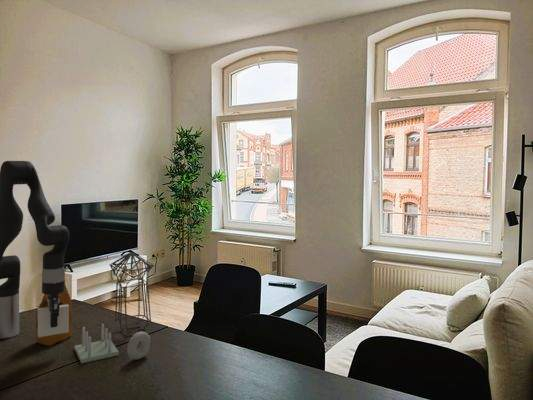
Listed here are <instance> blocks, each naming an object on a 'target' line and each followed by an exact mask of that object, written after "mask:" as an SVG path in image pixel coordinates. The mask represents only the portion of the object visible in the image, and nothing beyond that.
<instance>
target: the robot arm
mask: <svg viewBox="0 0 533 400" xmlns="http://www.w3.org/2000/svg"><path fill="white" fill-rule="evenodd" d="M15 185H27V186H28V188H29V190H30V191H29V192H30V193H29V196H28V200H27V211H28V213H29V215H30V217H31V219H32V220H33V223H34V226H35V230H36V231H35V232H36V239H37V242H38V243H39V245H40V244H41V245H42V246H43V247H45V246H46V247H49V246H53V247H52V249H51V250H49V251H47V252H44V253H43V255H42V272H41V293H42V294H43V295H44V294H46V295H49V296H48V297H47V302H48V307H49V311H50V318H51V328H53V327H57V317H58V316H59V306H60V304H59V303H60V298H59V296H58V294H59V293H62V292H64V291H65V285H66V271H65V256H66V255H65V254H66V252H67V248H68V246H69V245H68V244H69V241H70V230H69V229H68V227H67V226H65V225H61V224H60V225H59V224H58V225H52V224H53V223H54V222H55V220H56V216H55V213H54V212H53V210H52V208H51V207H50V204H49V203H48V200H47V199H46V197H45V196H46V195H45V193H44V191H43V187H42V184H41V181H40V178H39V175H38V171H37V169H36V168H35V166H34V164H33V163H32V162H31V161H28V160H27V161H26V160H5V161H3V162H2V164H1V165H0V280H3V279H4V280H5V279H6V280H5V281H4V282H3V283H1V284H0V339H1V340H2V339H8V338H13V337H15V336H17V335H19V334H20V287H21V280H20V279H21V260H20V258H19V257H18V255H4V253H5V252H6V251H7V248H8V246H11V244H12V243H13V242H14V240H15V239H16V238H17V237H18V236H19V235H20V233H21V232H22V229H23V228H22V227H23V222H24V212H23V211H22V208H21V207H20V205H19V204H18V202H17V200H16V198H15V197H14V186H15ZM53 313H55V314H53Z"/></svg>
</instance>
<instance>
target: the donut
mask: <svg viewBox="0 0 533 400" xmlns="http://www.w3.org/2000/svg"><path fill="white" fill-rule="evenodd" d="M133 334H134V335H132V336H130V337H131V338H130V339H129V340H128V343H127V347H126V351H127V356H128V357H129V358H131V360H136V361H137V360H141V359H143V358H144V357H145V356H146V355H147V353H148V352H149V349H150V346H151V337H150V334H149V333H147V332H146V331H145V332H144V331H143V330H142V331H138V332H135V333H133ZM139 343H140V346H139V348H138V345H139Z"/></svg>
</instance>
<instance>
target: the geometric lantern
mask: <svg viewBox="0 0 533 400" xmlns="http://www.w3.org/2000/svg"><path fill="white" fill-rule="evenodd" d="M129 259H130V262H129ZM136 259H137V260H136ZM128 262H129V263H128ZM140 262H142V263H143V265H144V267H143V268H139V263H140ZM133 264H135V265H133ZM127 265H130V268H127V267H126V266H127ZM109 266H110V269H111V271H112V272H113V275H114V276H115V278H116V279H117V281H116V283H115V285H116V286H115V287H116V289H115V311H114V312H115V313H114V315H115V316H114V322H115V325H117V327H118V328H119V329H120V332H121V333H122V334H124V335H125V336H126V337H132V336H133V335H134V334H135V333H133V334H131V332H134V331H138V330H142V332H146V327H148V325H150V324H151V323H152V319H151V318H152V317H151V306H150V305H151V304H150V303H151V302H150V293H149V291H150V290H149V276H147V279H146V280H145V279H144V277H145V275H146V273H147V274H149V272H150V271H151V270H152V268H153V267H155V265H154V264H153V263H151V262H149V261H148V260H146V259H145V258H143V257H141V256H140V255H138V254H137V253H136V252H128V253H127V254H124V255H123V256H122V257H120V258H118V259H117V260H115V261H114V262H113V261H112V263H109ZM136 271H137V273H136ZM140 271H142V272H140ZM119 272H121V273H122V274H121V276H120V278H119V277H118V274H119ZM127 272H130V274H129V273H127ZM133 273H134V274H135V275H133ZM124 274H125V275H127V276H129V277H130V278H129V279H126V280H122V279H123V276H124ZM141 276H142V277H141ZM135 277H136V278H135ZM135 280H137V281H138V282H137V283H138V284H137V285H130V286H128V285H129V283H130V282H131V281H135ZM140 281H141V282H140ZM122 282H123V283H124V282H127V283H126V285H124V286H123V285H122ZM140 283H141V284H140ZM118 286H119V287H118ZM134 287H137V288H138V289H137V290H138V293H137V294H138V303H137V304H138V305H137V306H138V307H137V309H138V311H137V312H138V313H137V314H135V315H131V316H128V315H127V314H128V313H127V295H126V294H127V293H126V292H127V291H126V289H127V288H134ZM118 288H119V289H118ZM140 288H141V289H140ZM140 290H141V291H142V305H143V314H141V313H140V304H141V302H140V301H141V299H140V293H141V291H140ZM118 293H119V294H118ZM123 293H124V297H123ZM123 298H124V316H125V317H122V312H123V311H122V308H123V307H122V306H123V304H122V303H123ZM117 310H118V314H117ZM117 315H118V316H117ZM135 317H136V318H137V321H136V322H132V323H128V319H129V318H131V319H132V318H135ZM140 317H142V318H141V319H140ZM144 318H145V319H146V323H144V324H143V323H141V322H142V321H143V319H144ZM124 319H125V324H124V325H123V324H122V320H124ZM139 319H140V321H139ZM134 324H136V325H134ZM130 325H132V326H130ZM133 325H134V326H133ZM135 328H136V329H135ZM131 329H132V330H131Z"/></svg>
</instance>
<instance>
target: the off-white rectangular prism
mask: <svg viewBox="0 0 533 400" xmlns="http://www.w3.org/2000/svg"><path fill="white" fill-rule="evenodd" d="M37 310H38V337H44V336H50V335H55V334H61V333H67V332H69V305H68V304H67V305H60V306H59V316H58V317H57V327H53V328H51V318H50V311H49V307H44V308H37ZM53 314H55V313H53Z"/></svg>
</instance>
